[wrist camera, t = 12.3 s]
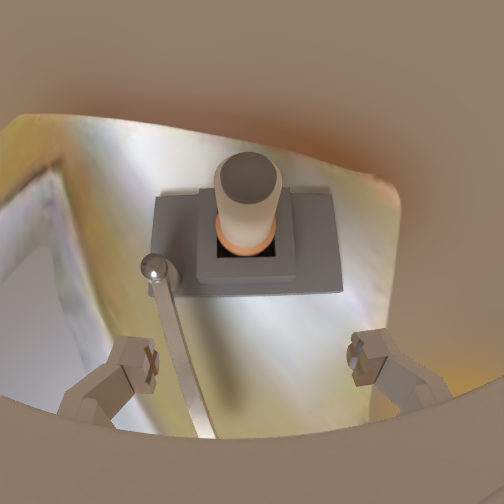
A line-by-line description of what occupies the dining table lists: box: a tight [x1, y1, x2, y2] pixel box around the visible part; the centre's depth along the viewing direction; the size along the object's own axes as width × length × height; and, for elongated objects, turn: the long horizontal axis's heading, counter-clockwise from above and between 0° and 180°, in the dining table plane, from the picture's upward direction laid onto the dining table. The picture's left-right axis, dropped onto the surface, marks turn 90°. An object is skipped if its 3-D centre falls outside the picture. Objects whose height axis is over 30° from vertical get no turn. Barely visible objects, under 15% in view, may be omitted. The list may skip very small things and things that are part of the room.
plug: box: [214, 152, 282, 258], centre depth 22 cm, size 5×5×12 cm
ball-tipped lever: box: [141, 253, 219, 439], centre depth 19 cm, size 18×2×2 cm, turn 17°
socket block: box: [147, 188, 343, 297], centre depth 26 cm, size 18×10×4 cm, turn 92°
